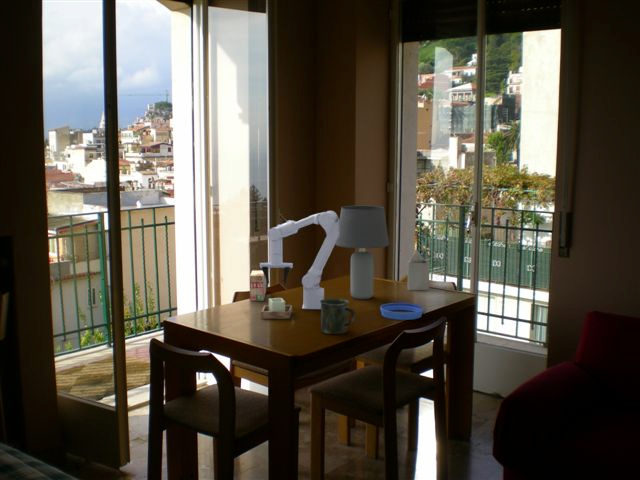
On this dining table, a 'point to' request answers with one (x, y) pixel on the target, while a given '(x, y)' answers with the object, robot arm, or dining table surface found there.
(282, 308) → the box
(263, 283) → the stack of blocks
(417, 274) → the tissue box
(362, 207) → the lamp
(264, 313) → the big crate
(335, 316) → the mug
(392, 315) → the bowl
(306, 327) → the dining table surface
